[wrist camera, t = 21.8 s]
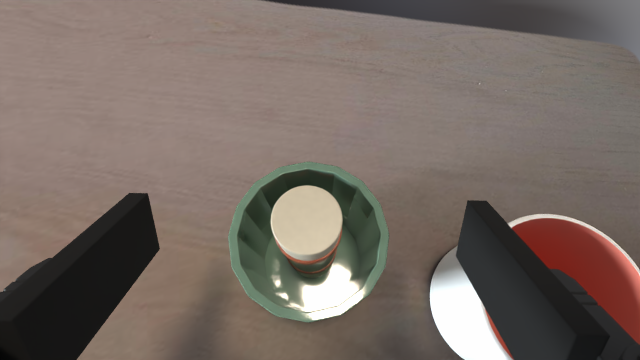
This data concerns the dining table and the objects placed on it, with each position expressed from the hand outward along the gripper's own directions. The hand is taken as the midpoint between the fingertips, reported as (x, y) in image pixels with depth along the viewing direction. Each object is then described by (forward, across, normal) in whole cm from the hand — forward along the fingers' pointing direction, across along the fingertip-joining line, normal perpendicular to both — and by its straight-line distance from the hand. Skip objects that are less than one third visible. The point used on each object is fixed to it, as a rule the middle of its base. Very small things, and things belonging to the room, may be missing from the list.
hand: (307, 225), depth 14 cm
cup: (+10, +14, -13) cm, 22 cm away
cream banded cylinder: (+12, 0, -10) cm, 16 cm away
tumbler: (+12, 0, -11) cm, 16 cm away
